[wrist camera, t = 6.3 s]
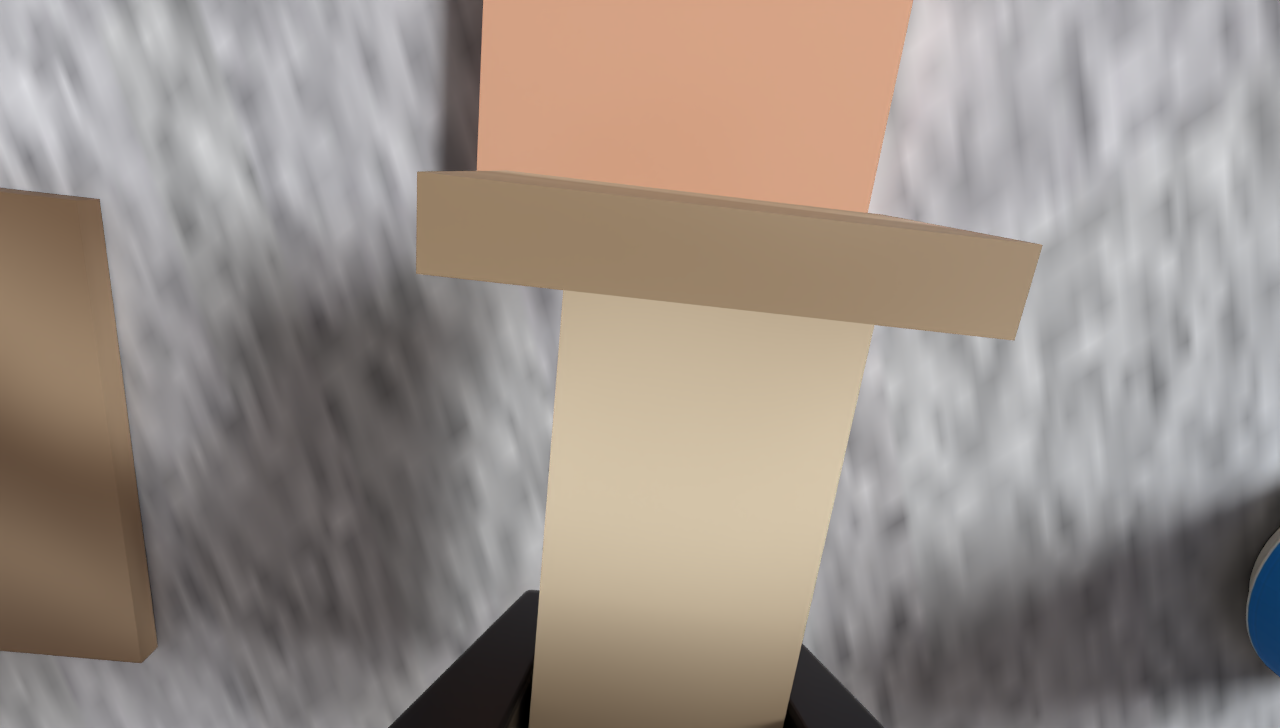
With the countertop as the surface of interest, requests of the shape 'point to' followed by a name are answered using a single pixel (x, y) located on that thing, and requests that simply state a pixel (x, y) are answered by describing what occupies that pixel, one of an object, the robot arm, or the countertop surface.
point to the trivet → (65, 443)
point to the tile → (693, 94)
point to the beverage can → (1266, 604)
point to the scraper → (698, 417)
